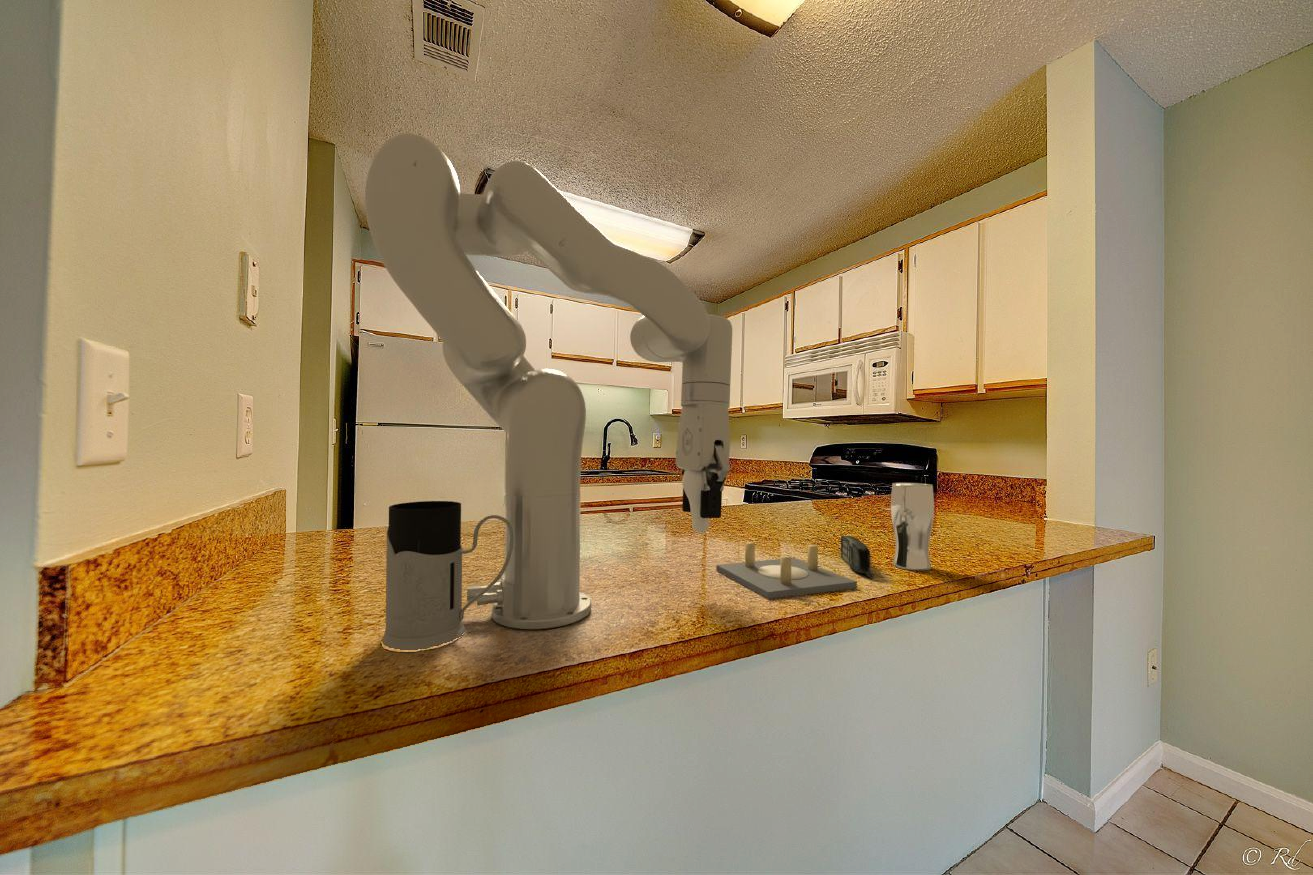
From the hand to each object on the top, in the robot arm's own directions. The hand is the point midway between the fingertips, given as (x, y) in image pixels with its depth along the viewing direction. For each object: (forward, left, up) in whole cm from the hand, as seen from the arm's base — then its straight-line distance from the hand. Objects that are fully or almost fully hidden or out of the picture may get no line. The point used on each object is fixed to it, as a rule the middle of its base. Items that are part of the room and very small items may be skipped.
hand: (700, 513), depth 74 cm
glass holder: (-35, -7, -12) cm, 38 cm away
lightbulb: (0, 0, -3) cm, 3 cm away
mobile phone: (+32, +2, -12) cm, 34 cm away
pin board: (+15, 0, -11) cm, 19 cm away
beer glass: (+42, -1, -12) cm, 43 cm away
